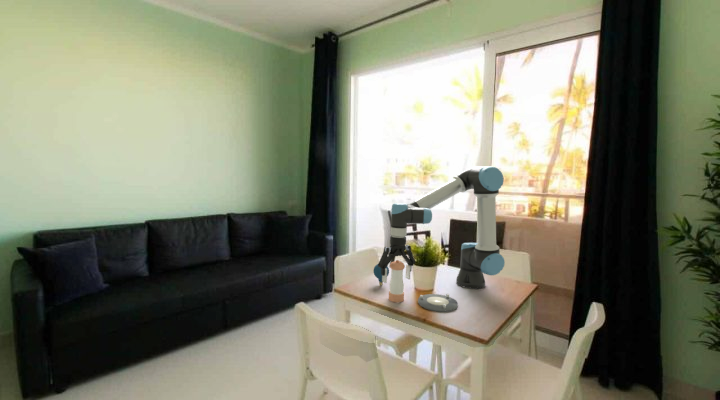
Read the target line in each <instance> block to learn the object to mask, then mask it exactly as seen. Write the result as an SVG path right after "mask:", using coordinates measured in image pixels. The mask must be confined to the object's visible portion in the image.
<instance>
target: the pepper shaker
mask: <svg viewBox="0 0 720 400" xmlns="http://www.w3.org/2000/svg"><path fill="white" fill-rule="evenodd" d="M389 267H390V269H391V272H390V273H391V276H390V280H389V281H390V282H389V291H388V300H389V301H390V302H392V303H402V302H404V300H405V292H404V284H405V283H404V278H403V277H404V269H406V264H405V263H404V262H402V261H400V260H399V259H396V260H394V261H390V263H389Z"/></svg>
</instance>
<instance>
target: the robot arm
mask: <svg viewBox="0 0 720 400" xmlns="http://www.w3.org/2000/svg"><path fill="white" fill-rule="evenodd" d="M503 185H504V175H503V172H502V170H500V168H498V167H496V166H491V165H487V166H483V165H481V166H472V167H469V168H467V169H466V170H464V171H462V172H459V173H458V174H456V175H454V176H453V177H452V179H451V180H450V181H448V182H446V183H444V184H442V185H441V186H439V187H437V188H435V189H433V190H431V191H429V192H427V194H425V195H422V196H421V197H419V198H418V199H416V200H414V201H412V202H410V203H403V202H401V203H400V202H394V203H392V205H391V212H390V233H389V234H390V237H389V238H390V239H389V244H390V247H388V246H384V248H383V253H382V255H381V257H380V259H379V261H378V263H377V264H378V267H380V268H381V275H382V281H383V283H385V284H387V280H388V276H387V269H386V267H387V266H388V267H389V265H390V264H391V262H392V261H393V259H394V258H395V257H398V256H399V257H402V258H403V259H404V261H405V263H407V264H405V276H404V277H405V279H407V280H410V279H411V273H412V269H413V267H414V265H415V264H416V260H415V257H414V255H413V252H412V246H411V245H410V244H407V229H408V224H415V225H420V224H421V225H427V224H430V223H432V220H433V213H432V210H431V209H432V208H434V207H436V206H439V204H441V203H443V202H445V201H446V200H449V199H450V198H451V197H454V196H456V195H457V194H459V193H465V192H466V191H469V190H473V195H474V196H476V202H477V203H476V208H477V210H476V211H477V212H476V213H477V242H463V243H461V247H460V266H459V267H460V268H459V271H458V274H457V277H456V281H455V283H456V284H457V285H458V286H460V287H462V288H467V289H472V290H473V289H475V290H476V289H477V290H479V289H483V288H485V287H486V280H485V276H484V275H488V276H496V275H498V274H500V272H501V271H503V270H504V267H505V262H506V261H505V258H504V257H503V255H502V254H500V252H501V251H500V246H499V245H497V218H496V217H497V212H496V211H497V205H496V197H497V195H499V193H500V189H501V188H502V186H503Z"/></svg>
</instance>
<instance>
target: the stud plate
mask: <svg viewBox="0 0 720 400" xmlns="http://www.w3.org/2000/svg"><path fill="white" fill-rule="evenodd" d="M417 304H418V305H419V306H420V307H422V309H423V308H424V309H425V310H428V311H432V312H439V313H449V312H453V311H456V310H457V308H458V307H459V305H458V304H459V303H458V301H457V300H456V299H454V298H453V297H450V294H449V293H446V294H445V295H444V294H439V293H428V294H420V295H419V297H418V299H417Z"/></svg>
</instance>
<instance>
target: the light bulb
mask: <svg viewBox="0 0 720 400" xmlns="http://www.w3.org/2000/svg"><path fill="white" fill-rule="evenodd" d="M386 269H387V277H388V276H389V275H390V269H389V265H388V266H387V267H386ZM373 274H374V276H375V277H376V278H377V279H378V283H379V284H378V285H379V286H383V285H384V284H383V283H384V282H383V281H382V275H381V268H380V267H378V263H377V264H376V265H375V266H374V267H373Z"/></svg>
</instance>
